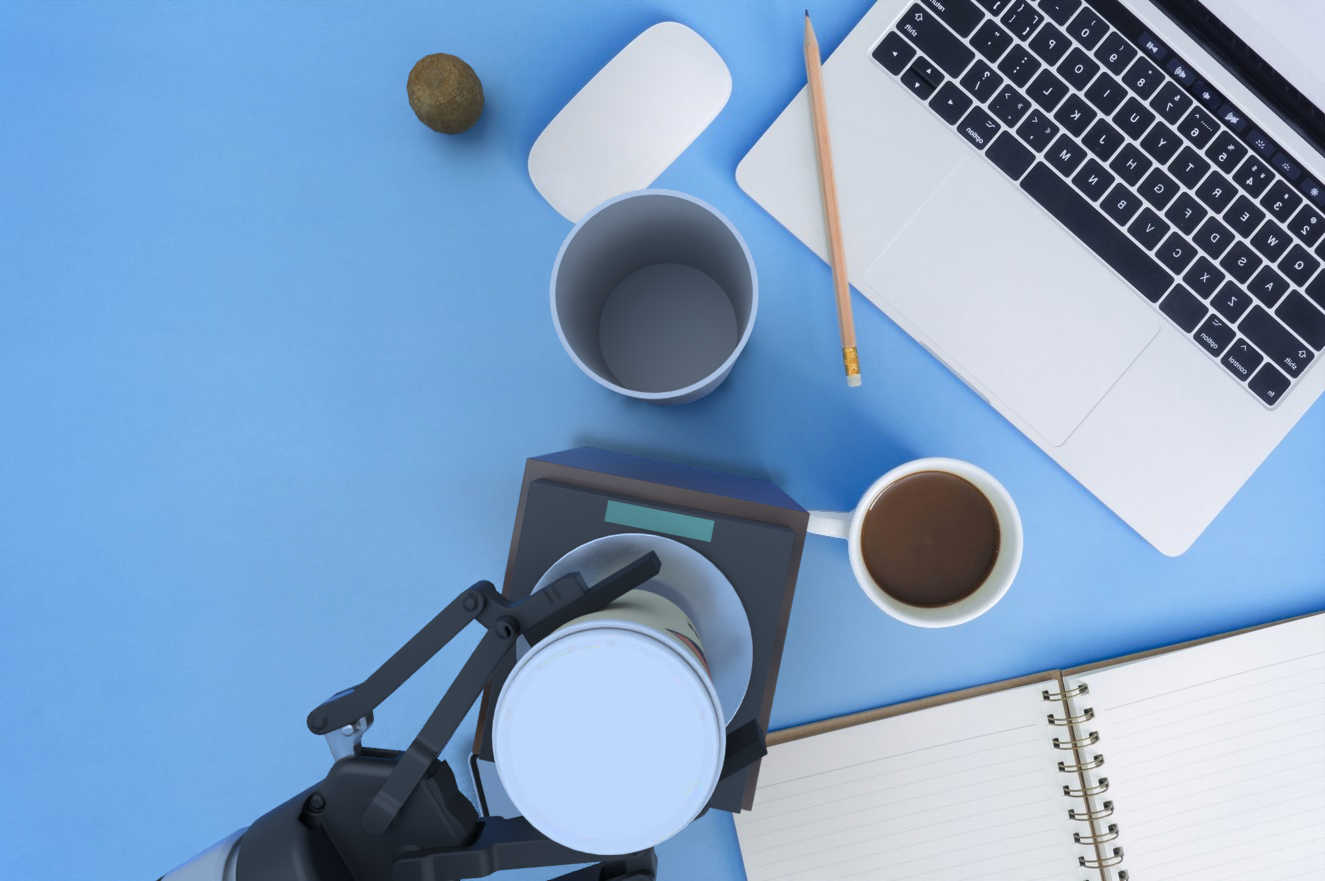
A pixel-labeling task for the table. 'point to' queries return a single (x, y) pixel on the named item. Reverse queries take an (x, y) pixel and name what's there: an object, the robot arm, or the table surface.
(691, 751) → the coffee cup
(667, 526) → the scale
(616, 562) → the scale pan
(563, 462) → the dark grey tall block
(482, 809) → the smartphone
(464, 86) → the fruit
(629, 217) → the cylinder vase
